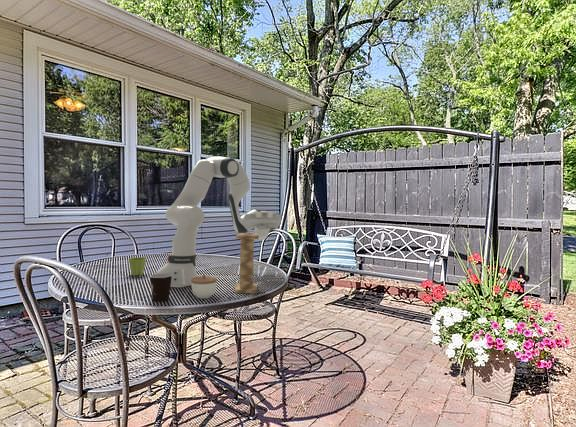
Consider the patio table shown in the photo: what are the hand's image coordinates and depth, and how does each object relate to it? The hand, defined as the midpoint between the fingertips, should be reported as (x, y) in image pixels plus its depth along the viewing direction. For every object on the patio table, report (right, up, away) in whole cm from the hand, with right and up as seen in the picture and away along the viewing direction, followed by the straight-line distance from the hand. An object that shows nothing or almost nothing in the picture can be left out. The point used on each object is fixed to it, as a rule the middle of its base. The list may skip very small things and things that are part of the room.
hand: (263, 212), depth 194 cm
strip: (+1, -2, -6) cm, 7 cm away
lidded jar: (-23, -36, -37) cm, 57 cm away
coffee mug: (-40, -36, -42) cm, 68 cm away
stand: (-6, -36, -24) cm, 44 cm away
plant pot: (-68, -34, +3) cm, 76 cm away
